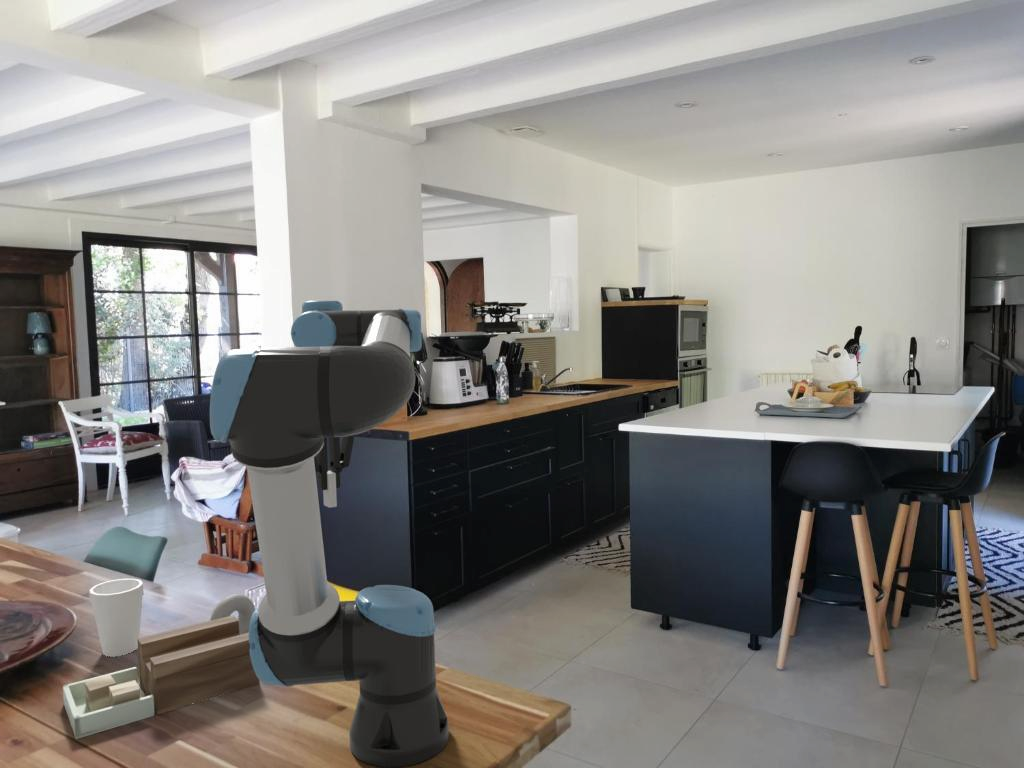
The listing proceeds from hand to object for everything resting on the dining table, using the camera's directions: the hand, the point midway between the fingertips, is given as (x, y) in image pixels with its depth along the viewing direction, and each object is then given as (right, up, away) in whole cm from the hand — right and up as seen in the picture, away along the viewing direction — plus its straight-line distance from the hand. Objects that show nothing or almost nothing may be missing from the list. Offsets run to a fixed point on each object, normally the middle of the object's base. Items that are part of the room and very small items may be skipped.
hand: (330, 505), depth 148 cm
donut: (-21, -29, +9) cm, 37 cm away
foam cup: (-43, -30, +6) cm, 53 cm away
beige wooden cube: (-31, -29, -18) cm, 46 cm away
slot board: (-21, -31, -9) cm, 38 cm away
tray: (-33, -32, -17) cm, 49 cm away
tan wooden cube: (-35, -27, -18) cm, 47 cm away
